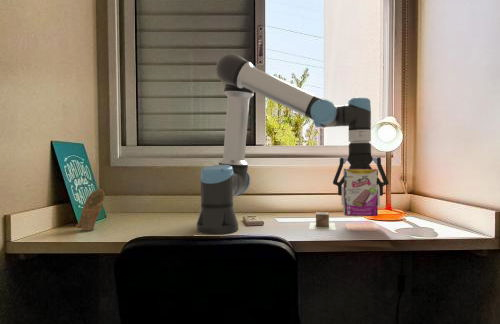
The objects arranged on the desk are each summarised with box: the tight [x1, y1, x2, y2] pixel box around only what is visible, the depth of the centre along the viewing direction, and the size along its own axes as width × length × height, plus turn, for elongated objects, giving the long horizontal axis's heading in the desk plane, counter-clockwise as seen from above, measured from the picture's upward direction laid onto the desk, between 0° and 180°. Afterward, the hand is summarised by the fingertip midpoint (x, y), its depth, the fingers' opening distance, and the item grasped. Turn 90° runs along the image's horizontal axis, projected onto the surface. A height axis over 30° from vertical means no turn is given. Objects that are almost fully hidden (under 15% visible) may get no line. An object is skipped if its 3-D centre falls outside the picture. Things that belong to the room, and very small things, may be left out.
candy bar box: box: [342, 168, 379, 217], centre depth 128 cm, size 11×5×16 cm, turn 84°
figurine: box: [75, 188, 105, 231], centre depth 135 cm, size 8×8×15 cm
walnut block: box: [315, 211, 330, 227], centre depth 131 cm, size 4×4×4 cm
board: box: [308, 222, 377, 232], centre depth 130 cm, size 24×14×2 cm, turn 79°
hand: (360, 205), depth 128 cm, fingers closed on candy bar box, 11 cm apart
